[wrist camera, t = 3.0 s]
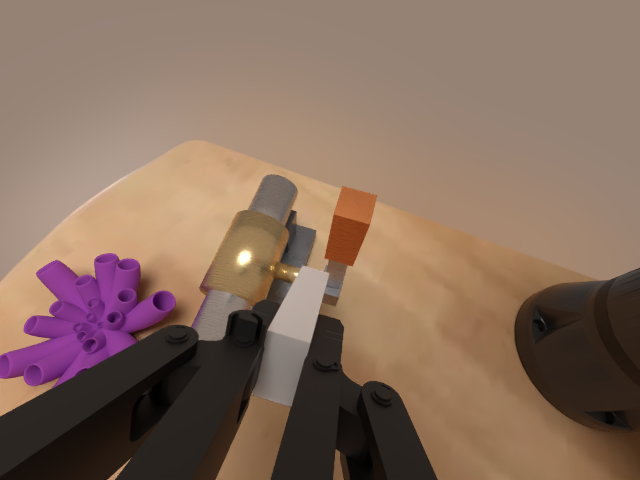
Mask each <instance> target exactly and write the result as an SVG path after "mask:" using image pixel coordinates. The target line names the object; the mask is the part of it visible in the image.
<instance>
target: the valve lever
mask: <svg viewBox="0 0 640 480" xmlns="http://www.w3.org/2000/svg"><path fill="white" fill-rule="evenodd" d="M376 197H377V195H373V194H370V193H366V192H362V191H358V190H355V189H351V188H347V187H342V189H341V193H340V196H339V199H338V202H337V205H336V209H335V212H334V215H333V220H332V225H331V230H330V235H329V239H328V244H327V249H326V254H325V259H328V260H329V262H328V265H326V268H325V271H324V272H328V273H329V277H328V280H327V284H326V288H325V291H324V295H323V299H322V303H325V304H328V305H332V306H336V303H337V301H338V299H339V295H340V291H341V288H342V284H343V280H344V276H345V272H346V269H347V266H348V265H349V266H353V264H354V262H355V260H356V257H357V255H358V252H359V250H360V248H361V245H362V243H363V240H364V238H365V236H366V233H367V231H368V228H369V226H370V223H371V219H372V214H373V210H374V206H375V202H376Z"/></svg>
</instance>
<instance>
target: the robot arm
mask: <svg viewBox="0 0 640 480" xmlns="http://www.w3.org/2000/svg"><path fill="white" fill-rule="evenodd" d="M328 277H329V273H328V272H324V271H321V270H317V269H313V268H310V267H306V266H302V267H301V269H300V271H299V273H298V275H297V277H296V278H295V280H294V282H293V284H292V286H291V288H290V289H289V291H288V293H287V295H286V297H285V299H284V301H283V302H282V304H279V303H276V302H272V301H269V300H265V299H263V300H261V301H259V302H257V303H256V304H255V305H254V306H253V308H252V310H237V311H234V312H232V313H230V314H229V316H228V321H227V326H226V332H225V336H224V337H223V339H222V340H217V341H208V340H198V339H199V335H198V333H197V331H196V330H194V329H193V328H191V327H188V326H185V325H173V326H168V327H165V328H162V329H160V330H159V331H157V332H155V333H153V334H151V335H149V336H147V337H146V338H144V339H142V340H140V341H138V342H136V343H135V344H133V345H131V346H129V347H127V348H125V349H124V350H122V351H120V352H118V353H116V354H114V355H113V356H111V357H109V358H107V359H105V360H103V361H102V362H100V363H98V364H96V365H94V366H92V367H91V368H89V369H87V370H85V371H83V372H81V373H79V374H78V375H76V376H74V377H72V378H70V379H68V380H67V381H65V382H63V383H61V384H59V385H57V386H56V387H54V388H52V389H50V390H48V391H46V392H45V393H43V394H41V395H39V396H37V397H35V398H34V399H32V400H30V401H28V402H26V403H24V404H23V405H21V406H19V407H17V408H15V409H13V410H11V411H10V412H8V413H6V414H4V415H2V416H0V480H107V479H109V478H110V477H111V476H112V475H113V474H114V473H115V472H116V471H117V470H118V469H120V468H121V467H122V466H123V465H124V464H125V463H126V462H127V461H128V460H129V459H130V458H131V459H130V461H129V462H128V463H127V465H126V466H125V467H124V469H123V470H122V471H121V473H120V474H119V475H118V477H117V478H116V479H115V480H215V479H216V477H217V475H218V473H219V470H220V468H221V466H222V464H223V462H224V459H225V457H226V455H227V453H228V450H229V448H230V446H231V444H232V442H233V439H234V437H235V435H236V433H237V430H238V428H239V426H240V424H241V421H242V419H243V417H244V415H245V413H246V410H247V408H248V405H249V400H250V396H251V393H252V391H253V389H254V392H253V396H256V397H260V398H263V399H266V400H269V401H273V402H276V403H279V404H282V405H286V406H289V407H291V409H290V413H289V416H288V420H287V423H286V427H285V431H284V434H283V438H282V441H281V445H280V448H279V452H278V455H277V459H276V462H275V466H274V469H273V473H272V477H271V480H333V471H334V460H335V449H337V450H338V451H340V460H341V466H342V472H343V478H344V480H438V479H437V477H436V475H435V473H434V470H433V468H432V466H431V464H430V461H429V459H428V457H427V455H426V453H425V450H424V448H423V446H422V444H421V441H420V439H419V437H418V435H417V432H416V430H415V428H414V426H413V423H412V421H411V419H410V417H409V415H408V412H407V410H406V408H405V406H404V403H403V401H402V399H401V397H400V396H399V394H398V393H397V392H396V391H395V390H394V389H393V388H391V387H390V386H388V385H386V384H384V383H381V382H377V381H369V382H367V383H365V384H364V385H363V387H362V386H360V385H358V384H356V383H355V382H353V381H352V380H350V379H349V378H348V377H347V376H346V375H345V374H344V372H343V371H342V365H341V364H340V362H341V352H342V341H343V331H344V327H343V325H342V323H341V321H340V320H338V319H334V318H331V317H327V316H324V315H320V314H319V310H320V306H321V302H322V299H323V295H324V291H325V288H326V284H327V280H328ZM515 335H516V343H517V348H518V352H519V355H520V358H521V361H522V363H523V365H524V367H525V369H526V371H527V373H528V375H529V376H530V378H531V380H532V381H533V383H534V384H535V385H536V387H537V388H538V389H539V391H540V392H541V393H542V394H543V395H544V396H545V398H546V399H547V400H548V401H549V402H550V403H551V404H553V405H554V406H555V407H556V408H557V409H558V410H560V411H561V412H562V413H564V414H565V415H567V416H568V417H570V418H571V419H573V420H575V421H577V422H578V423H581V424H583V425H585V426H588V427H590V428H593V429H597V430H602V431H611V432H627V433H633V432H640V268H638V269H635V270H633V271H630V272H628V273H625V274H623V275H621V276H619V277H616V278H613V279H611V280H605V281H589V282H574V283H562V284H557V285H553V286H550V287H548V288H546V289H544V290H542V291H540V292H537V293H535V294H534V295H532V296H531V297H529V298H528V299H527V300H526V301H525V302H524V304H523V305H522V307H521V308H520V311H519V313H518V316H517V320H516V327H515Z"/></svg>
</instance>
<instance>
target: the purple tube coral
mask: <svg viewBox="0 0 640 480" xmlns="http://www.w3.org/2000/svg"><path fill="white" fill-rule="evenodd" d="M94 266H95V275H96V280H95V278H94V277H92V276H91V275H83V276H81V277H78V276H77V275H76V274H75V273H74V272H73V271H72V270H71V269H70V268H68V267H67V266H66V265H65V264H63V263H62V262H60V261H58V260H55V261H53V262H51V263H49V264H47V265H46V266H44V267H43V268H41V269H40V270H39V271H38V272H37V273H36V275H37V277H38V278H39V279H40V280H41V282H42V283H43V284H44V285H45V286H46V287H47V288H48V289H49V290H50V291H51V292H52V293H53V294H54V295H55V296H56V297H57V299H58V300H59V301H56V302H55V303H53V304H52V305H51V307H50V309H49V312H50V314H52V315H53V316H55V317H49V316H32V317H30V318H29V319H28V320H27V321H26V323H25V325H24V332H25V333H26V334H29V335H32V336H37V337H44V338H53V339H50V340H47V341H45V342H42V343H39V344H36V345H32V346H29V347H25V348H22V349H18V350H14V351H11V352H8V353H5V354H3V355H1V356H0V378H3V379H7V378H14V377H19V376H24V380H25V382H26V383H27V384H28V385H30V386H38V385H42V384H45V383H47V382H50V381H52V380H55V379H57V378H59V377H60V379H59V380H58V381H57V383H56V384H55V385H54V386H53V387H52V388H54V387H56V386H57V385H59V384H61V383H63V382H65V381H67V380H68V379H70V378H72V377H74V376H76V375H78V374H79V373H81V372H83V371H85V370H87V369H89V368H91V367H92V366H94V365H96V364H98V363H100V362H102V361H103V360H105V359H107V358H109V357H111V356H113V355H114V354H116V353H118V352H120V351H122V350H124V349H125V348H127V347H129V346H131V345H133V344H135V343H136V342H137V340H136V339H135V338H134V337H133V336H132V335H131V334H129V333H133V332H136V331H139V330H142V329H145V328H148V327H150V326H152V325H154V324H156V323H158V322H160V321H161V320H163V319H164V318H165V317H167V316H168V315H169V314H170V313H171V311H172V310H173V308H174V306H175V303H176V301H175V297H174V296H173V295H172V294H171V293H170V292H168V291H158V292H156V293H154V294H153V295H151V296H150V297H149V298H147V299H145V300H144V301H142V302H140V303H137V294H136V293H137V290H138V287H139V283H140V275H141V273H140V264H139V262H138V261H136V260H134V259H123V260H119V258H118V256H117V255H115V254H112V253H108V254H103V255H100V256H98V257H96V258H95V261H94Z"/></svg>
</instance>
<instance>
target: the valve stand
mask: <svg viewBox="0 0 640 480" xmlns="http://www.w3.org/2000/svg"><path fill="white" fill-rule="evenodd" d="M297 195H298V191H297V188H296V186H295V185H294V184H293V183H292V182H291V181H289V180H288V179H286V178H284V177H282V176H279V175H267V176H265V177H264V178H263V179H262V181H261V183H260V185H259V187H258V190H257V192H256V194H255V196H254V198H253V200H252V202H251V204H250V206H249V208H248V210H244V211H240V212H238V213H237V214H236V215H235V217H234V219H233V221H232V223H231V225H230V227H229V229H228V231H227V233H226V235H225V237H224V239H223V241H222V243H221V245H220V247H219V249H218V251H217V253H216V255H215V257H214V259H213V261H212V263H211V265H210V267H209V269H208V271H207V273H206V275H205V277H204V279H203V281H202V283H201V285H200V287H199V289H200V291H201V292H202V293H203V294H205V295H206V297H205V299H204V301H203V303H202V305H201V307H200V310H199V312H198V314H197V316H196V318H195V320H194V322H193V324H192V326H191V328H193V329H194V330H196V331H197V333H198V335H199V339H198V340H208V341H217V340H222V339H223V337H224V336H225V332H226V326H227V321H228V316H229V314H230V313H232V312H234V311H237V310H252V308H253V306H254V305H255V304H256V303H257V302H259V301H261V300H263V299H265V300H269V301H272V302H276V303H279V304H282V302H283V301H284V299H285V297H286V295H287V293H288V291H289V289H290V288H291V286H292V284H293V282H294V280H295V278H296V277H297V275H298V273H299V271H300V269H301V267H302V266H306V264H307V261H308V258H309V255H310V252H311V249H312V246H313V243H314V240H315V237H316V230H313V229H310V228H306V227H303V226H299V225H296V213H297V211H293V210H292V207H293V205H294V202H295V200H296V197H297Z"/></svg>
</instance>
